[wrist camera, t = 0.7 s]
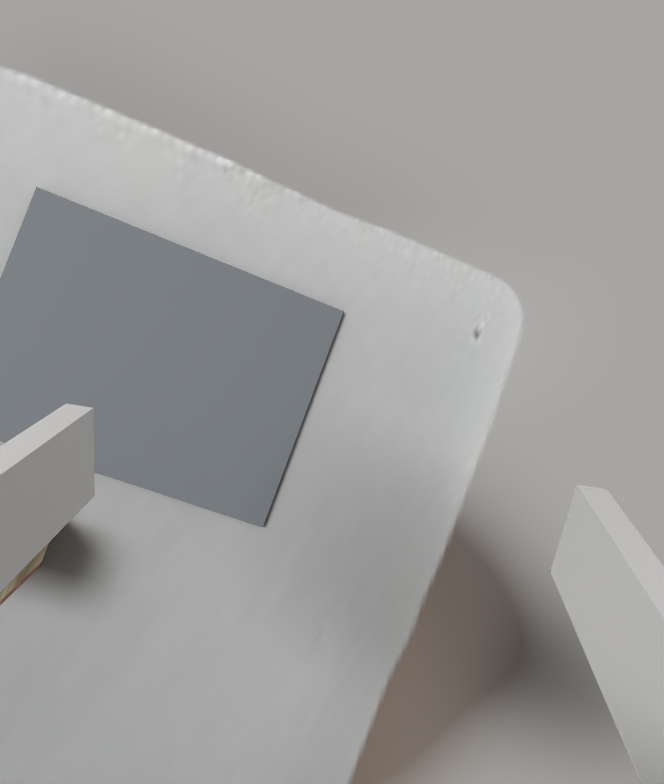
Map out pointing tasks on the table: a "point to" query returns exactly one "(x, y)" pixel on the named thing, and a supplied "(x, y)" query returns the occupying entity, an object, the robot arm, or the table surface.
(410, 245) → the table surface
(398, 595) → the table surface
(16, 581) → the face block
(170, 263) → the mat
